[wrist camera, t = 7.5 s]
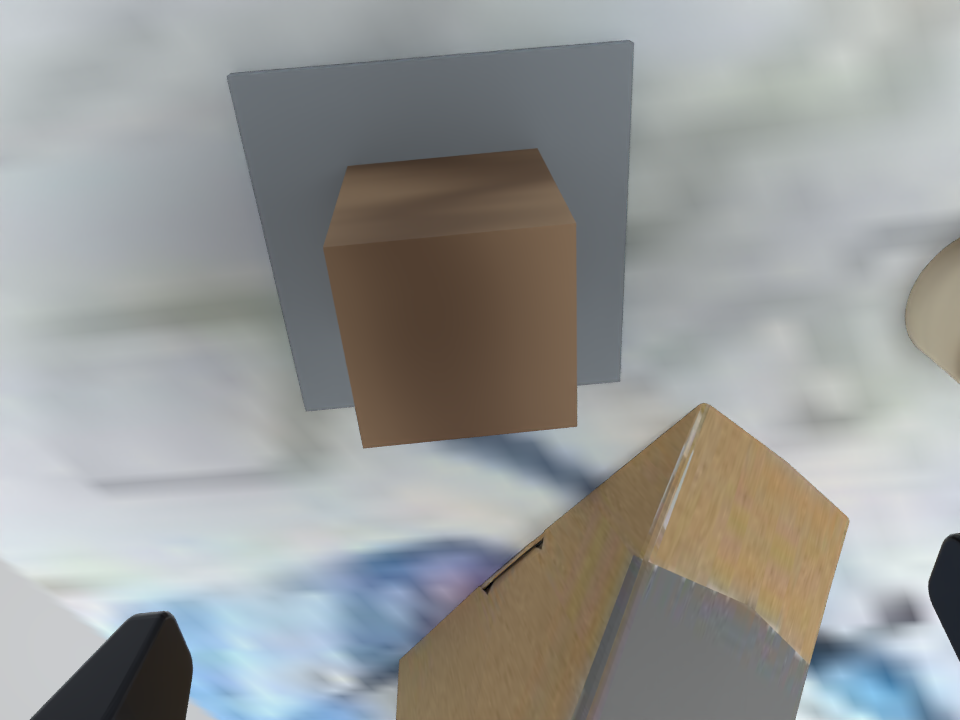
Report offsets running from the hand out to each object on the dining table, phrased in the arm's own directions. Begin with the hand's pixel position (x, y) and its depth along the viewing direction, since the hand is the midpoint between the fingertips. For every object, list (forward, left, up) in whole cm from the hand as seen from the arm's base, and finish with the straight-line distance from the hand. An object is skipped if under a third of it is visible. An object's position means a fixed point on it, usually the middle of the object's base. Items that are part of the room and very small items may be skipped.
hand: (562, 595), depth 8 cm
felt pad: (+1, 0, -12) cm, 12 cm away
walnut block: (+1, 0, -11) cm, 11 cm away
